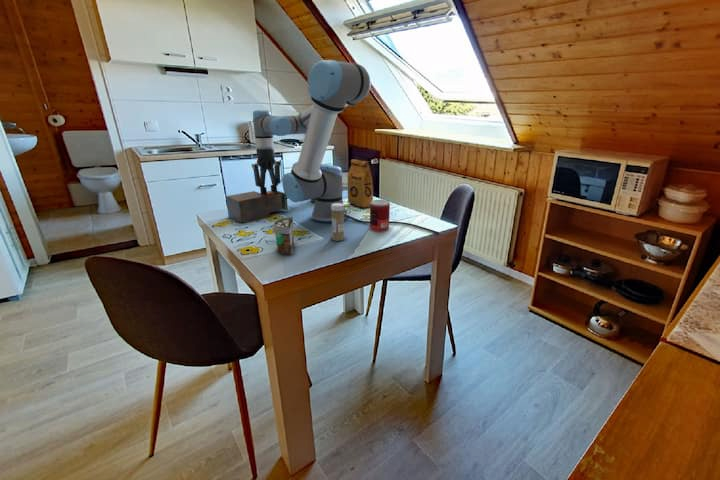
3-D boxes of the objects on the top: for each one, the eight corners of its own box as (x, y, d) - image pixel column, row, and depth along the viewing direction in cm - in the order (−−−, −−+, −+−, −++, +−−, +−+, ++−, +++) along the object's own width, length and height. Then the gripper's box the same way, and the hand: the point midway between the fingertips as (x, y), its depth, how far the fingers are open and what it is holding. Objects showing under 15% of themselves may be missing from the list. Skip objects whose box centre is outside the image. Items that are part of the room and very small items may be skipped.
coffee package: (361, 209, 166) (361, 163, 158) (345, 203, 174) (344, 159, 166) (376, 205, 172) (377, 160, 164) (359, 200, 180) (360, 157, 172)
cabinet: (256, 211, 162) (254, 191, 158) (269, 216, 154) (267, 195, 151) (228, 217, 153) (225, 196, 149) (241, 223, 145) (238, 201, 142)
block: (275, 200, 159) (275, 192, 158) (268, 202, 156) (267, 193, 155) (270, 199, 162) (270, 190, 160) (263, 200, 159) (262, 192, 158)
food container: (277, 243, 125) (274, 216, 121) (294, 242, 125) (292, 216, 122) (271, 257, 113) (269, 228, 110) (290, 256, 114) (288, 227, 110)
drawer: (285, 203, 172) (284, 187, 169) (298, 207, 165) (297, 191, 162) (252, 210, 160) (250, 194, 157) (264, 215, 153) (262, 198, 150)
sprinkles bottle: (344, 241, 127) (344, 205, 122) (332, 241, 126) (331, 206, 122) (343, 236, 131) (343, 202, 126) (331, 237, 131) (330, 202, 126)
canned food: (390, 226, 143) (392, 200, 139) (385, 232, 136) (386, 205, 132) (373, 224, 145) (373, 198, 141) (367, 230, 138) (367, 203, 134)
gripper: (276, 145, 158) (280, 195, 167) (242, 148, 147) (248, 202, 156) (286, 147, 154) (289, 198, 162) (251, 150, 142) (257, 205, 151)
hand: (269, 200), depth 159 cm, fingers closed on block, 4 cm apart
